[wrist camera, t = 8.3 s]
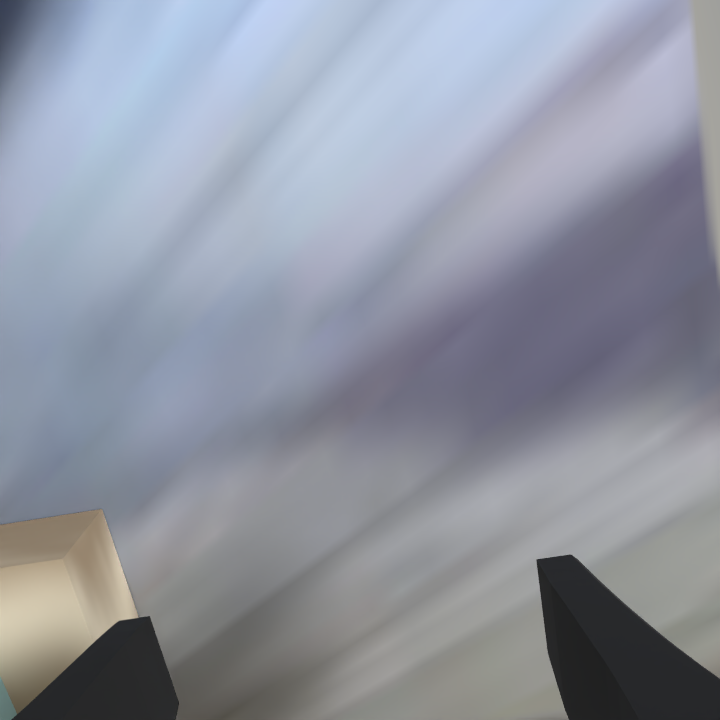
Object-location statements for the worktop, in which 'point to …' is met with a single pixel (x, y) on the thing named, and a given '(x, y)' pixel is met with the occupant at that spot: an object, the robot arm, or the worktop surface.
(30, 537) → the birch plinth
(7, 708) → the teal block
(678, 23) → the worktop surface
